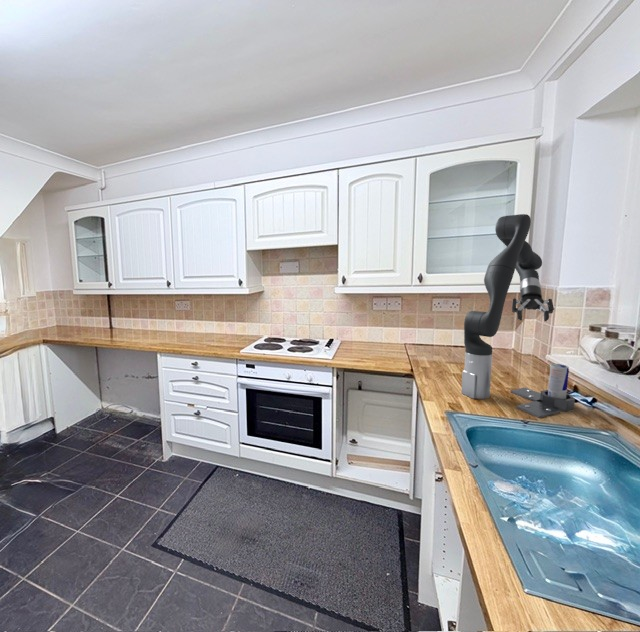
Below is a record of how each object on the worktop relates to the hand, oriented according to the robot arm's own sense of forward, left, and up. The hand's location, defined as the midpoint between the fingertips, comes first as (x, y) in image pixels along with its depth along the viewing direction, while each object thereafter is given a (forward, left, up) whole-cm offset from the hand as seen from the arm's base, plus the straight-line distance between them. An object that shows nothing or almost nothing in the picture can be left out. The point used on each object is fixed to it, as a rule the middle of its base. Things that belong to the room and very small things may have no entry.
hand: (533, 319), depth 121 cm
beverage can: (-10, -18, -28) cm, 35 cm away
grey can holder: (-16, -13, -28) cm, 34 cm away
